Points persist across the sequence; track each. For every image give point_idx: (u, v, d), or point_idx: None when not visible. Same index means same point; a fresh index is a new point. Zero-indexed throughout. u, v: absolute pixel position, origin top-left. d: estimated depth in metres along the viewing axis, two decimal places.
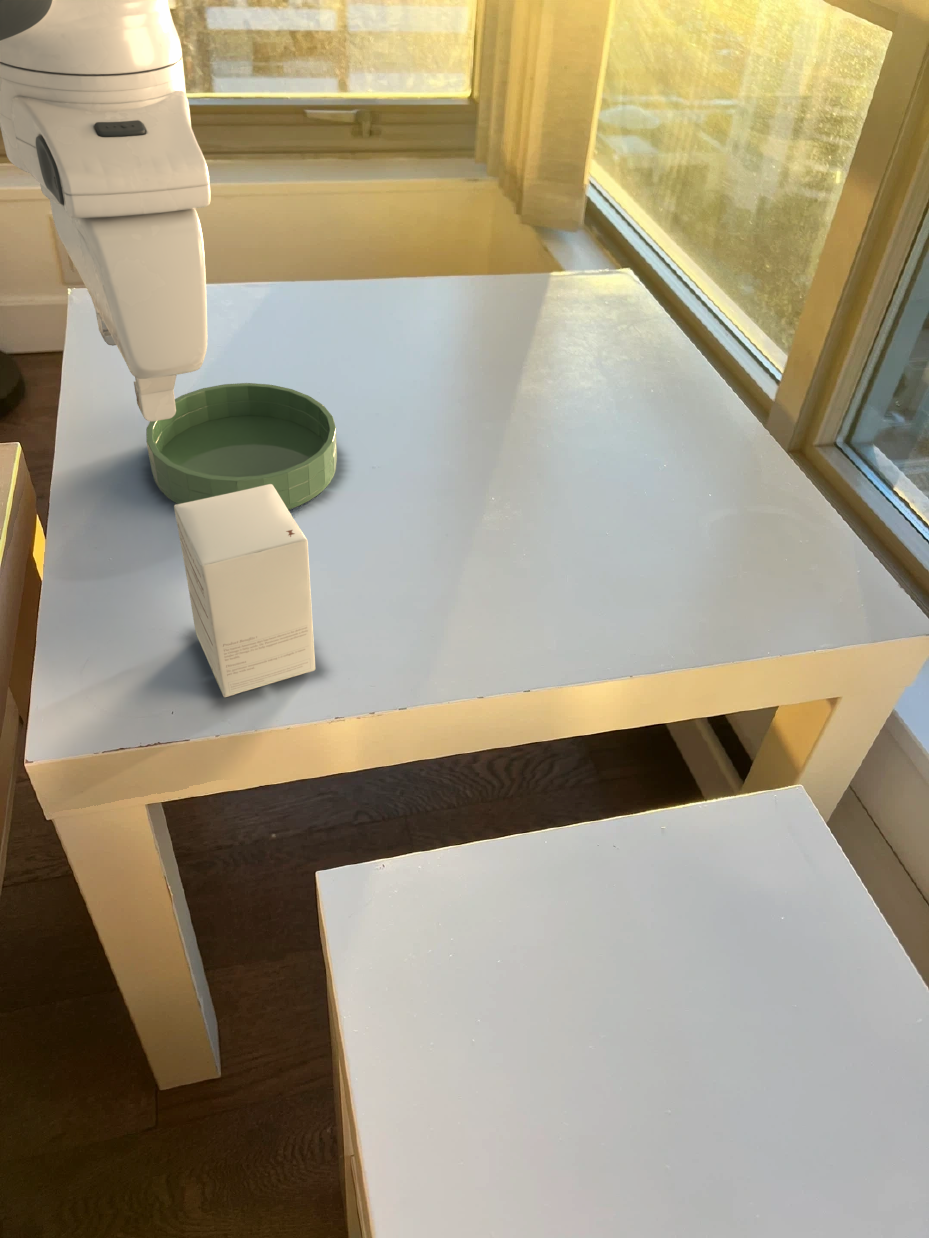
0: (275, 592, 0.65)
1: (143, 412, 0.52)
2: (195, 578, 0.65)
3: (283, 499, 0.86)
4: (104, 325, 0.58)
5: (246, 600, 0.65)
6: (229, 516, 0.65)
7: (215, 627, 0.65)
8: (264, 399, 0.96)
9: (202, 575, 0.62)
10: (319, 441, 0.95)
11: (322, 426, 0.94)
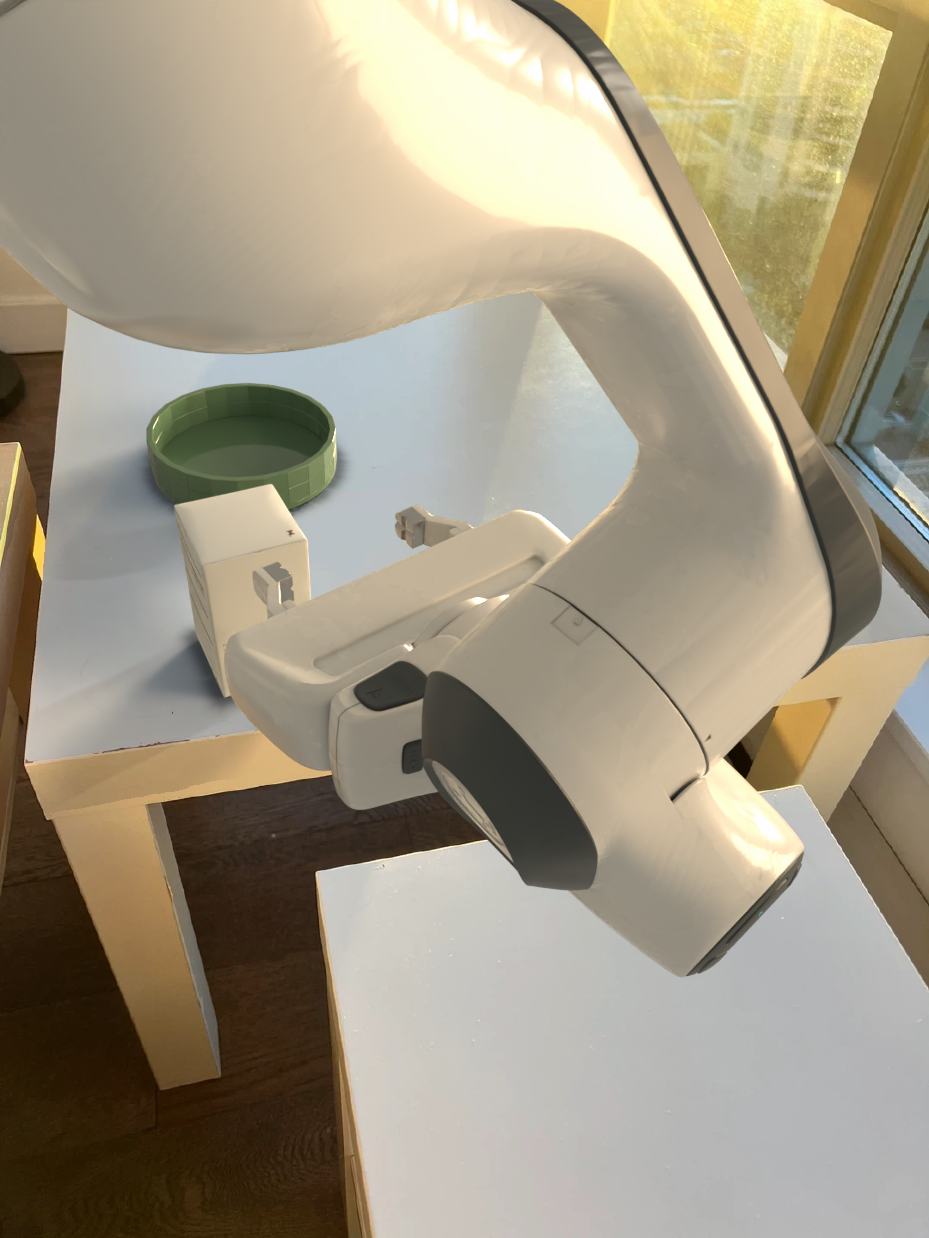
0: None
1: (258, 574, 0.51)
2: (195, 578, 0.65)
3: (283, 499, 0.86)
4: (408, 523, 0.55)
5: (246, 600, 0.65)
6: (229, 516, 0.65)
7: (215, 627, 0.65)
8: (264, 399, 0.96)
9: (202, 575, 0.62)
10: (319, 441, 0.95)
11: (322, 426, 0.94)
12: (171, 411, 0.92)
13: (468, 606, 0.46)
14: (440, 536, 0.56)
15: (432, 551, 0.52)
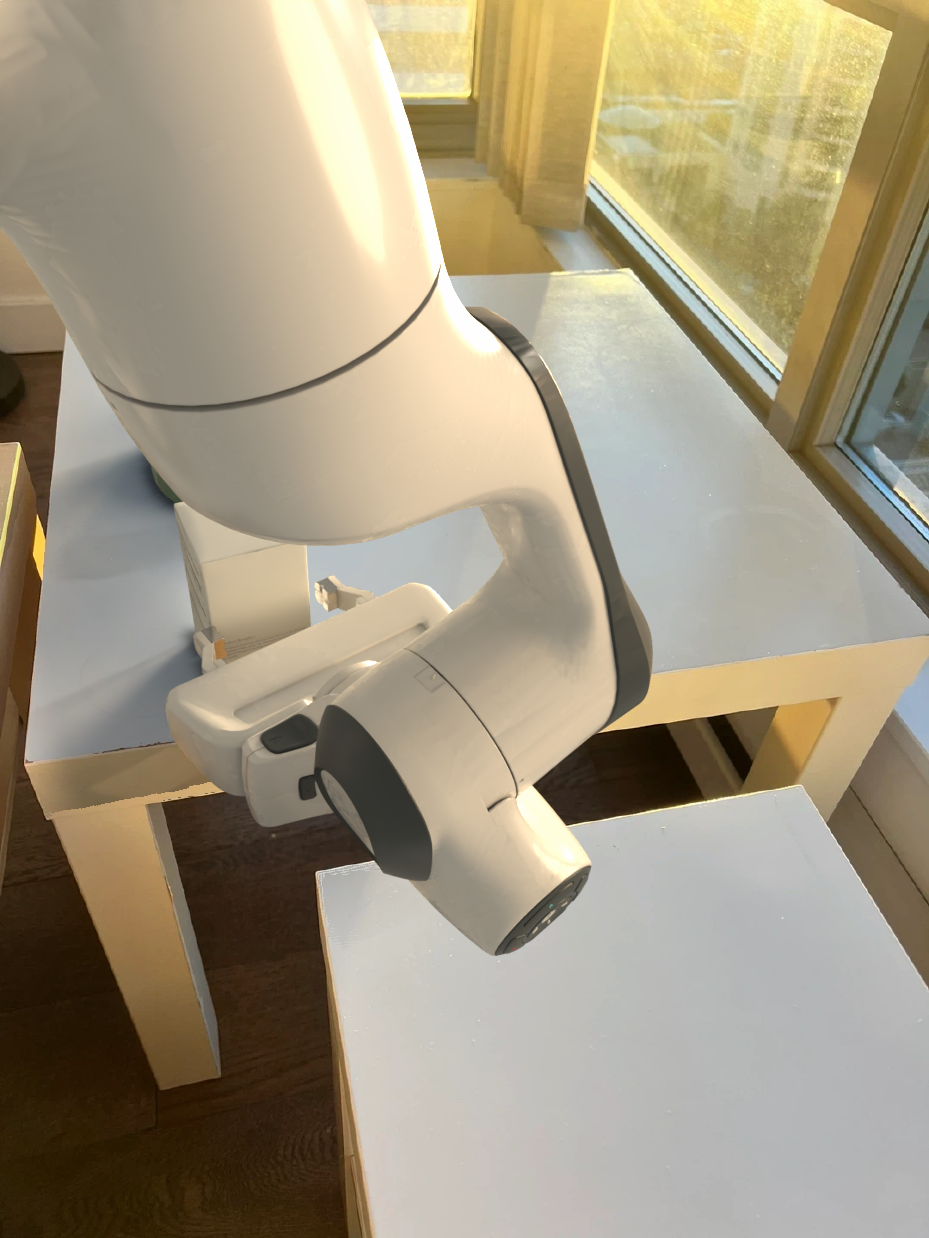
0: (273, 591, 0.65)
1: (197, 636, 0.64)
2: (194, 577, 0.65)
3: None
4: (324, 592, 0.68)
5: (243, 599, 0.65)
6: None
7: None
8: None
9: (200, 574, 0.62)
10: None
11: None
12: None
13: (357, 668, 0.59)
14: (350, 602, 0.69)
15: (338, 619, 0.65)
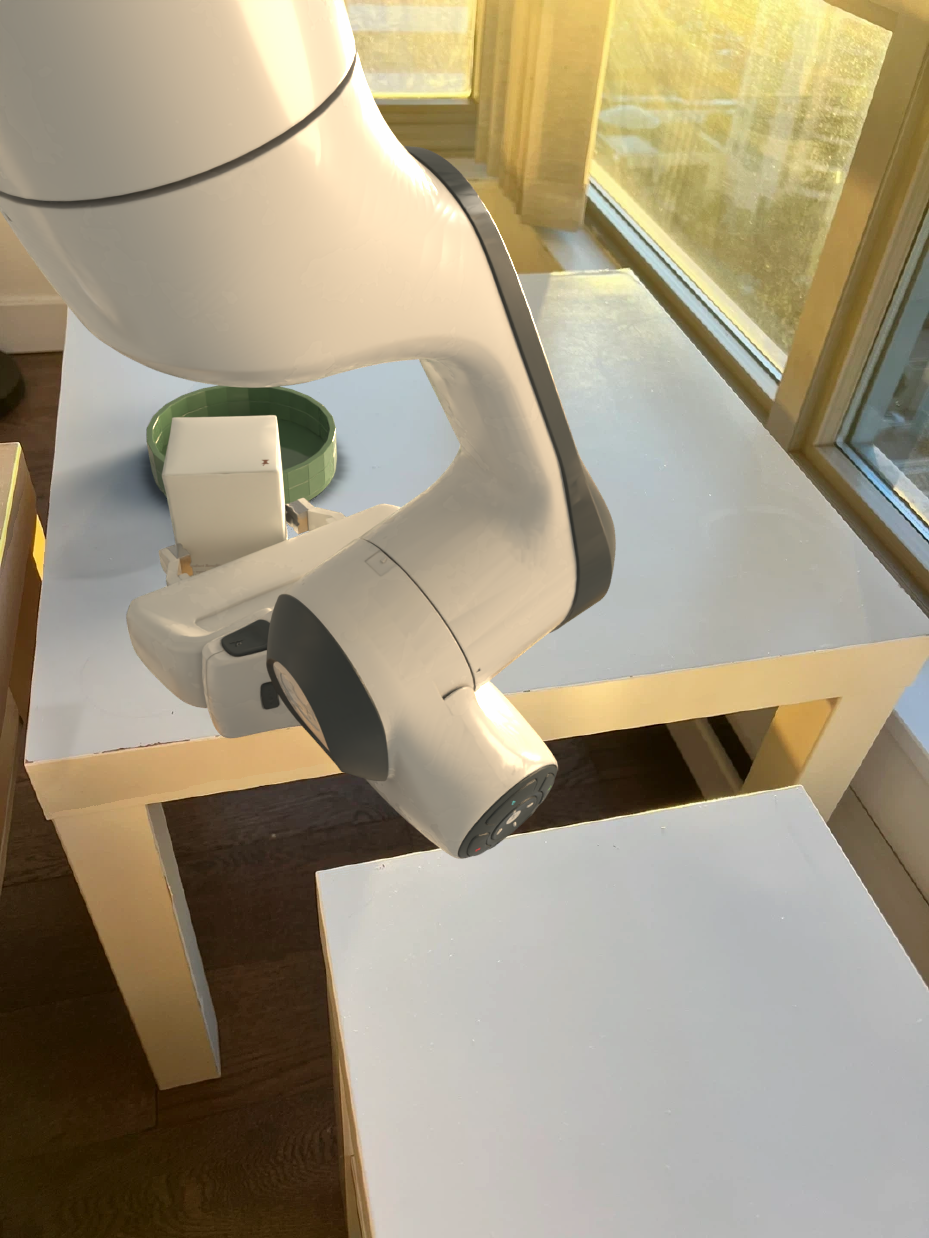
0: (243, 521, 0.63)
1: (162, 552, 0.63)
2: None
3: None
4: (294, 513, 0.67)
5: (211, 523, 0.63)
6: (216, 436, 0.64)
7: None
8: (264, 399, 0.96)
9: (165, 486, 0.61)
10: (319, 441, 0.95)
11: (322, 426, 0.94)
12: (171, 411, 0.92)
13: None
14: (321, 524, 0.67)
15: (306, 536, 0.63)
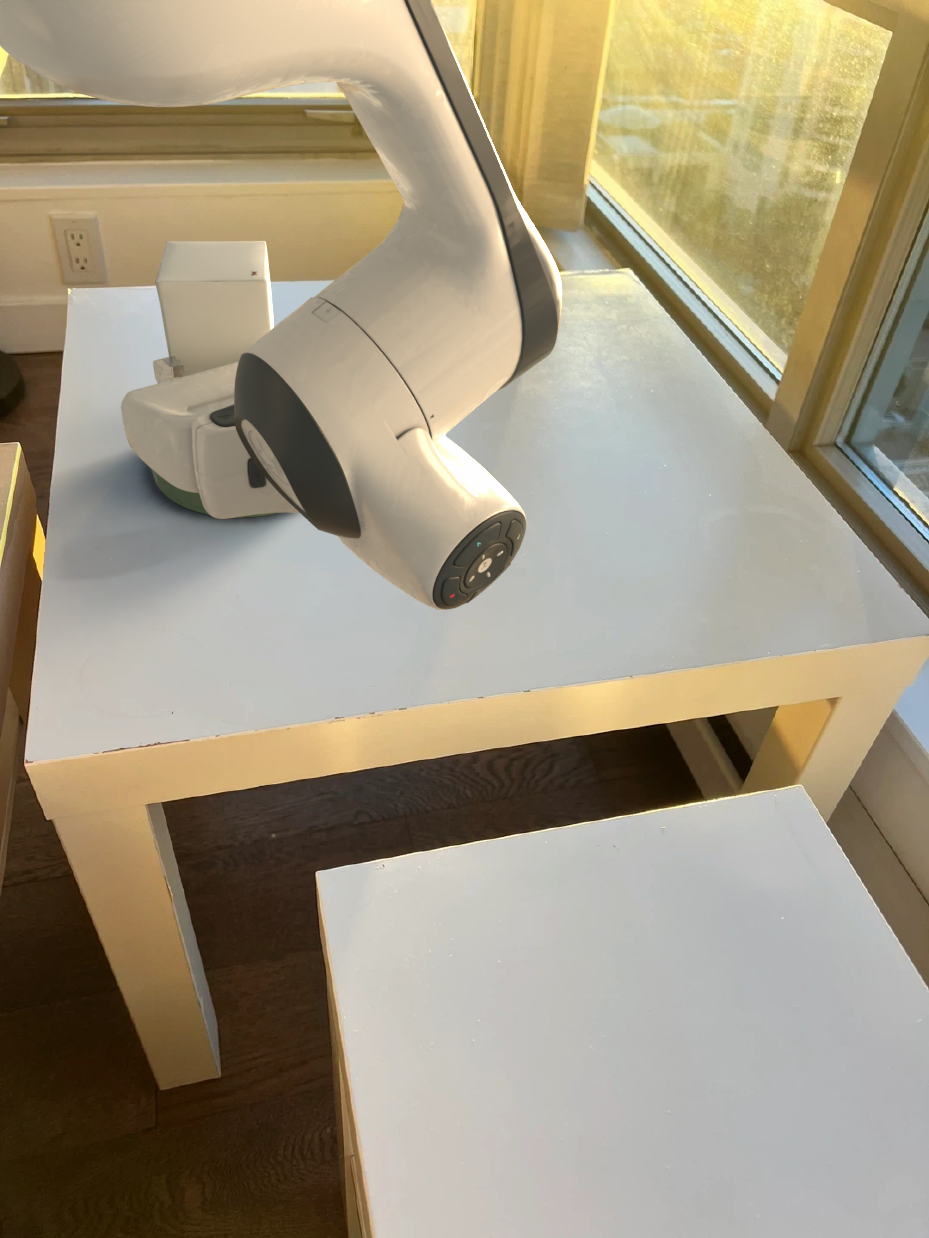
0: (233, 334, 0.66)
1: (156, 362, 0.66)
2: None
3: None
4: None
5: (203, 335, 0.66)
6: (207, 254, 0.67)
7: None
8: None
9: (158, 294, 0.64)
10: None
11: None
12: None
13: None
14: None
15: None
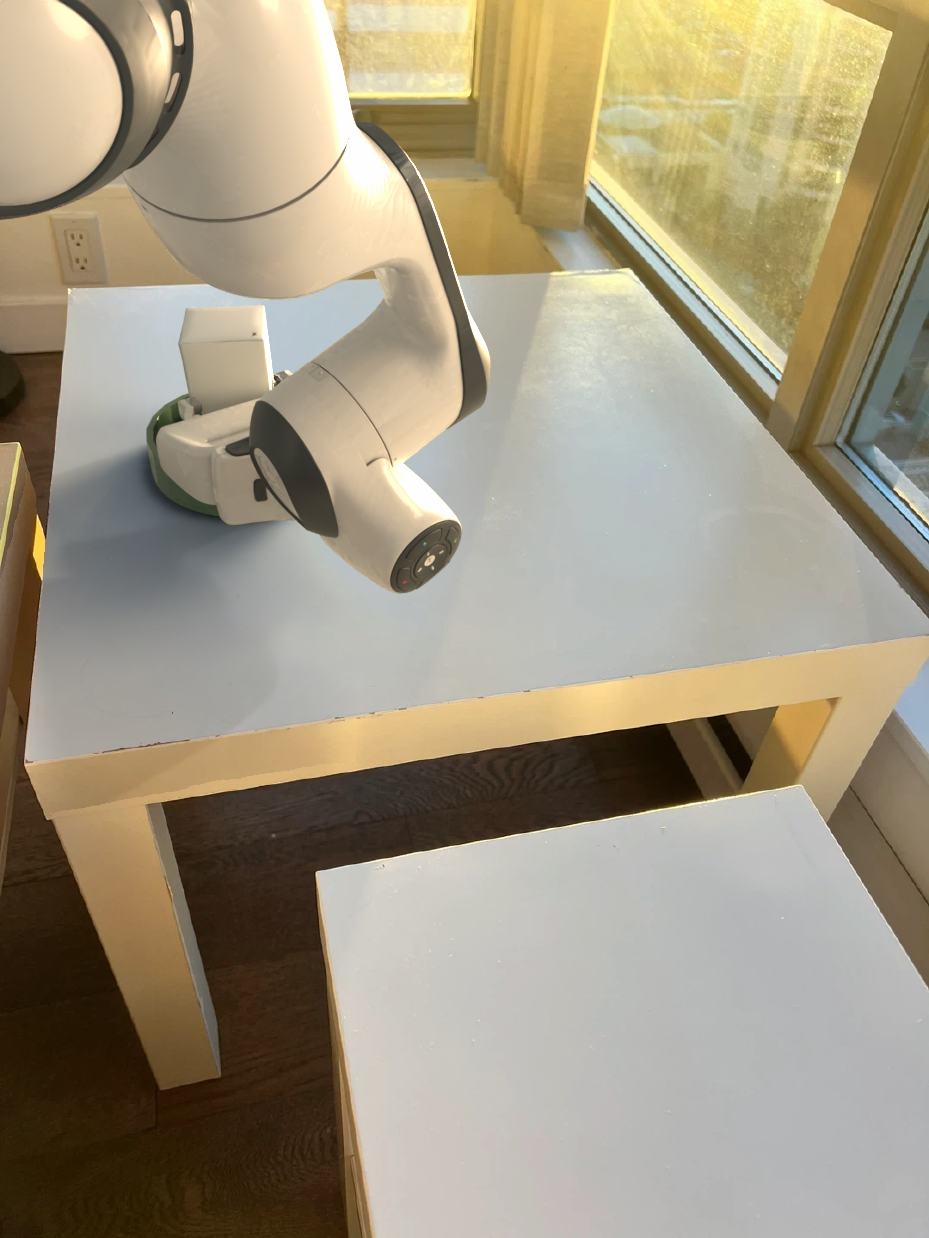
0: (239, 380, 0.85)
1: (180, 402, 0.84)
2: None
3: None
4: (280, 379, 0.88)
5: (215, 382, 0.84)
6: (218, 319, 0.85)
7: None
8: None
9: (180, 352, 0.82)
10: None
11: None
12: (171, 411, 0.92)
13: None
14: None
15: None
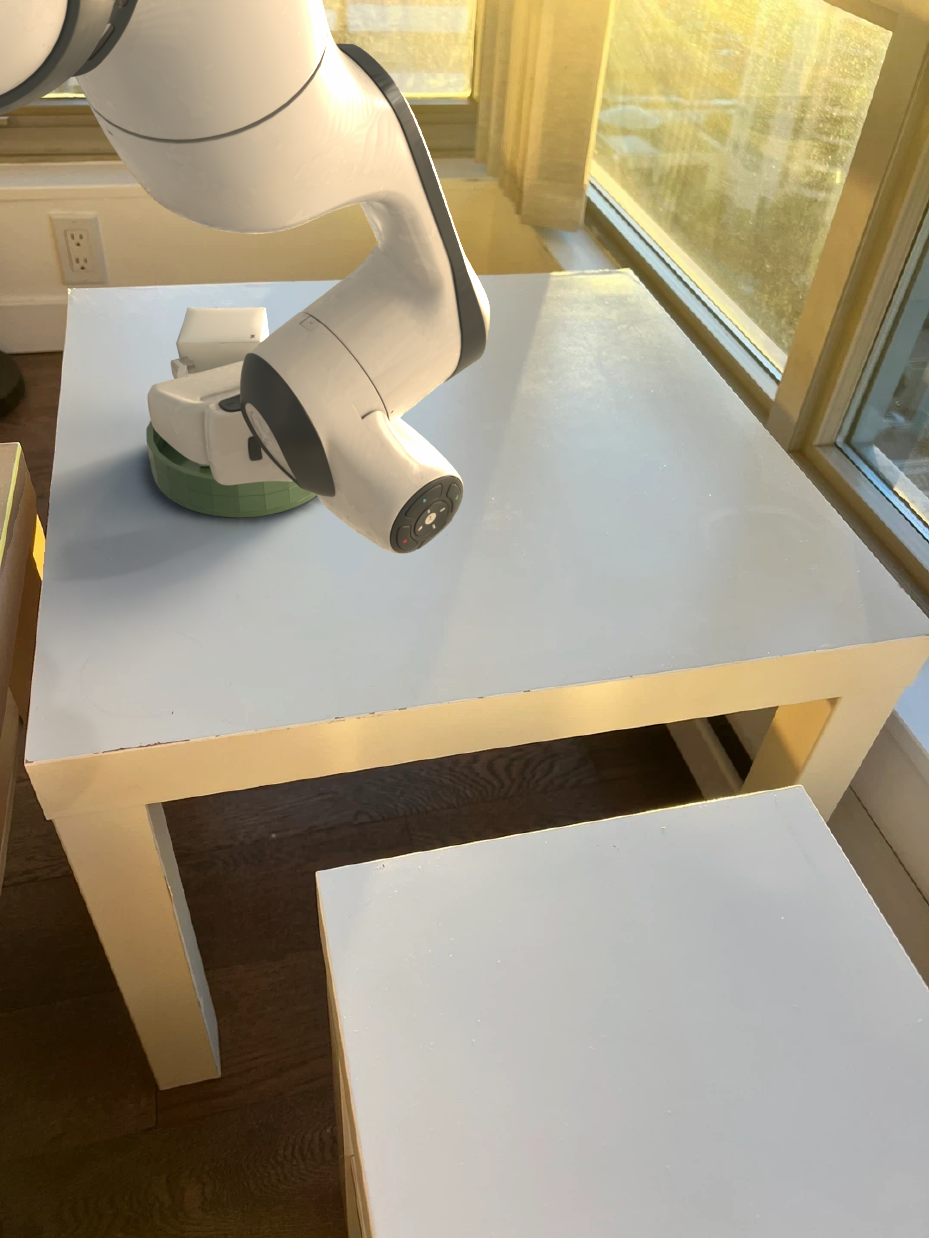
0: None
1: (173, 362, 0.81)
2: None
3: (283, 499, 0.86)
4: None
5: None
6: (218, 319, 0.85)
7: None
8: None
9: (178, 352, 0.82)
10: None
11: None
12: None
13: None
14: None
15: None
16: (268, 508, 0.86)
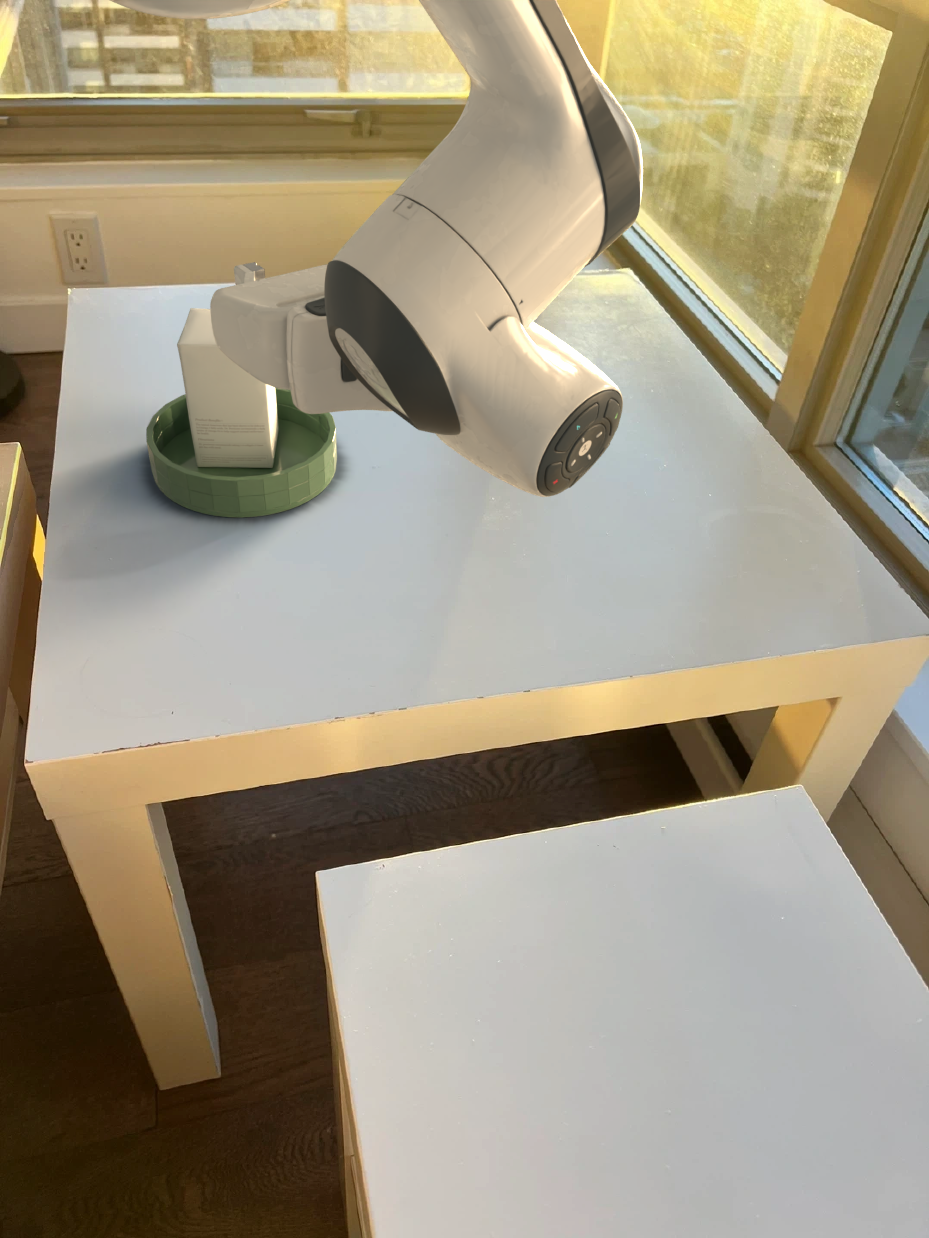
0: (236, 385, 0.85)
1: (238, 267, 0.66)
2: None
3: (283, 499, 0.86)
4: None
5: (212, 385, 0.84)
6: None
7: (189, 401, 0.85)
8: None
9: (179, 353, 0.82)
10: (319, 441, 0.95)
11: (322, 426, 0.94)
12: (171, 411, 0.92)
13: None
14: None
15: None
16: (268, 508, 0.86)
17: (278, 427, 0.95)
